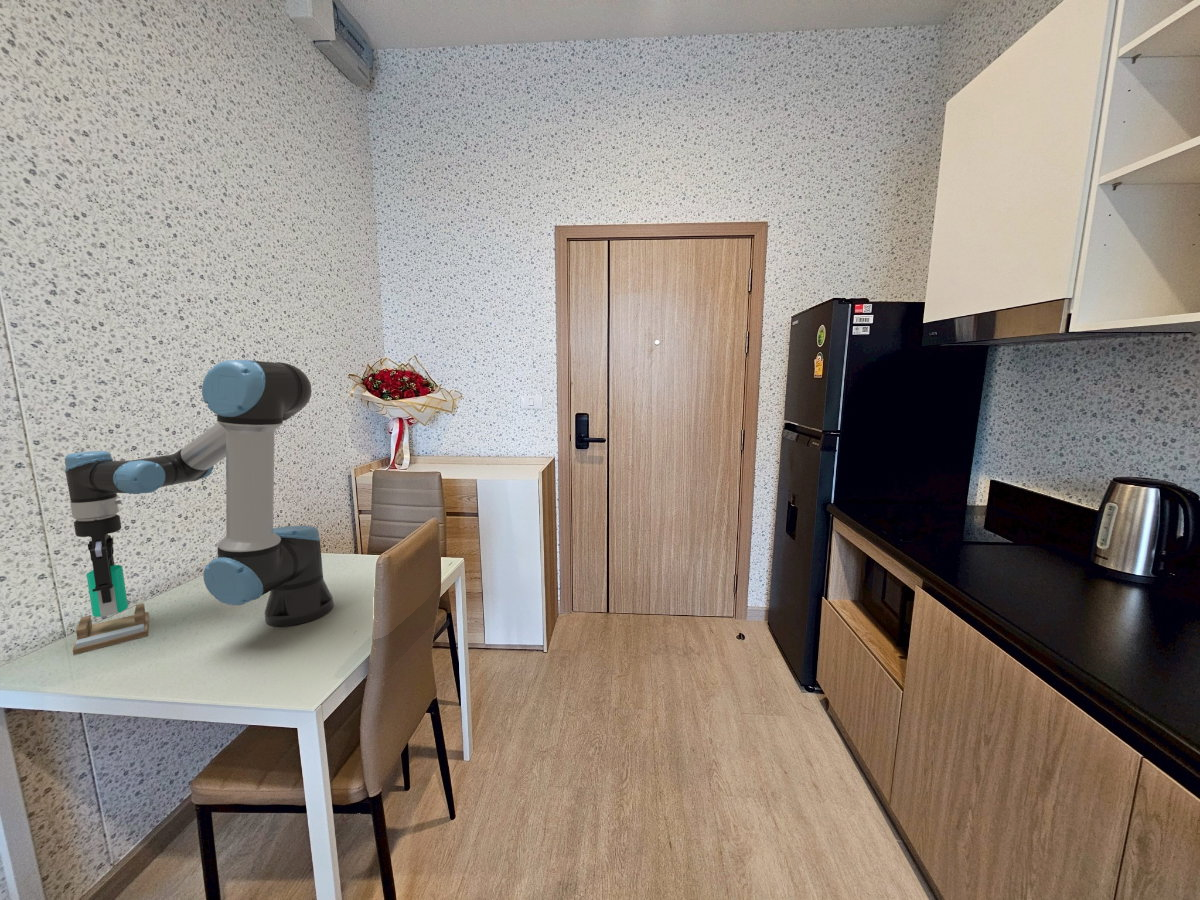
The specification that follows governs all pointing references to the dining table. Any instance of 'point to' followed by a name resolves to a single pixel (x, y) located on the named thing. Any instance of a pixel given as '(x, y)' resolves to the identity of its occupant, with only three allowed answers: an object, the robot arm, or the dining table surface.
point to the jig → (111, 629)
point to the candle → (118, 587)
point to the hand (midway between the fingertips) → (110, 609)
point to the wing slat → (109, 635)
